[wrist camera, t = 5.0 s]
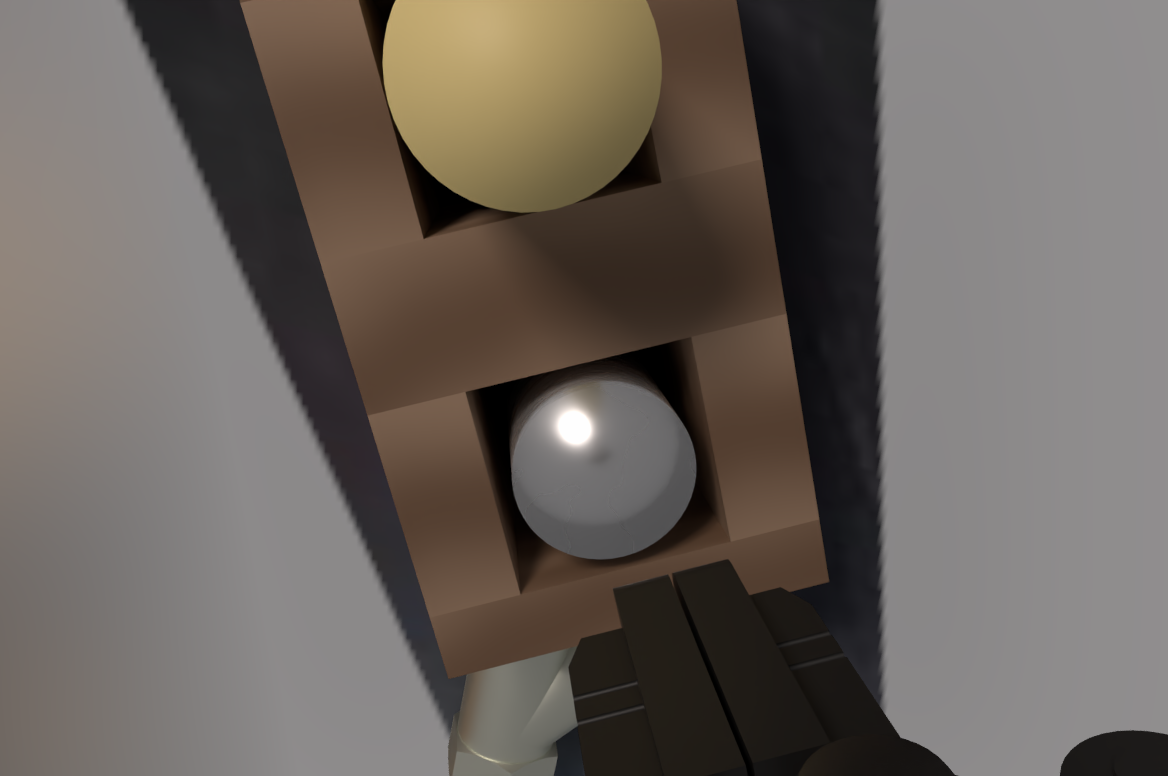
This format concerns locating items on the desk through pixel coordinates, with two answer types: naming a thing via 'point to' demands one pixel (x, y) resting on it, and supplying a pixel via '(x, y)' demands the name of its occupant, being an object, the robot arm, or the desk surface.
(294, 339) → the desk surface
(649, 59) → the mustard peg
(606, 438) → the steel peg
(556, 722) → the pipe fitting
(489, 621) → the socket block
